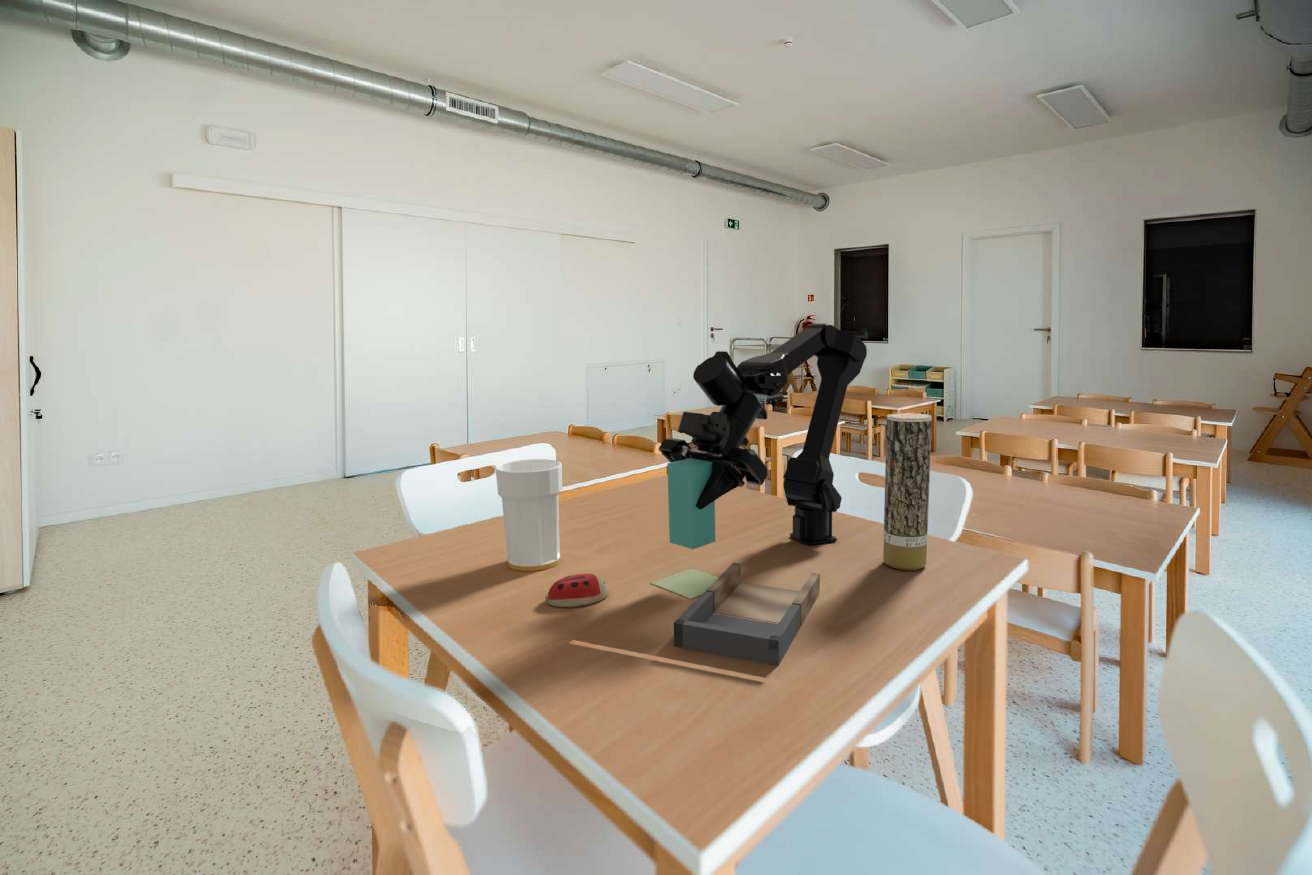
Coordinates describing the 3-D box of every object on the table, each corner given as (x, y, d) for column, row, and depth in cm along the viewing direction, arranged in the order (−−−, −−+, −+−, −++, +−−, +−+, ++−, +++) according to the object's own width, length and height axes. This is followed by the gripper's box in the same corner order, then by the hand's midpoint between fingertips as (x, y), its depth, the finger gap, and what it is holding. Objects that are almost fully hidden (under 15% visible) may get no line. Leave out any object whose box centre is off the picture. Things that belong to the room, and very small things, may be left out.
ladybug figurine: (616, 601, 102) (615, 578, 101) (554, 615, 97) (552, 592, 97) (599, 586, 108) (598, 565, 107) (539, 600, 103) (537, 577, 103)
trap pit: (705, 614, 95) (705, 591, 95) (800, 630, 90) (800, 605, 89) (674, 648, 86) (673, 622, 85) (778, 668, 80) (778, 640, 79)
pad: (691, 571, 113) (691, 568, 113) (731, 585, 106) (731, 582, 106) (650, 585, 107) (650, 582, 107) (691, 601, 100) (691, 598, 100)
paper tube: (927, 560, 115) (933, 413, 111) (924, 574, 109) (930, 419, 105) (885, 555, 118) (889, 412, 114) (880, 568, 112) (884, 418, 108)
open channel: (733, 584, 107) (733, 562, 106) (819, 596, 101) (819, 573, 100) (706, 613, 96) (706, 590, 95) (800, 629, 90) (801, 604, 90)
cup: (580, 560, 119) (575, 463, 117) (527, 578, 111) (521, 475, 108) (540, 547, 127) (535, 456, 124) (488, 564, 119) (481, 466, 116)
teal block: (692, 534, 108) (690, 458, 106) (715, 541, 105) (714, 462, 103) (669, 542, 105) (667, 463, 103) (692, 549, 101) (690, 467, 99)
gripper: (665, 389, 111) (615, 466, 105) (755, 395, 97) (703, 484, 92) (699, 430, 117) (654, 505, 112) (788, 441, 104) (742, 527, 98)
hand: (685, 504), depth 103 cm, fingers closed on teal block, 5 cm apart
